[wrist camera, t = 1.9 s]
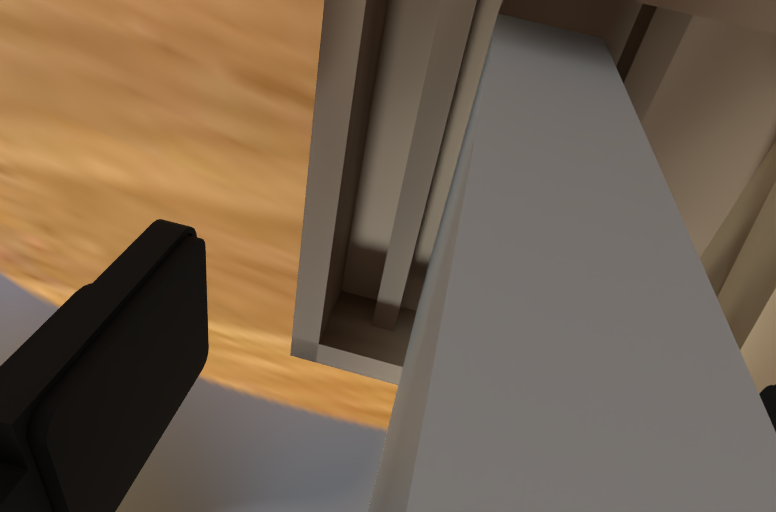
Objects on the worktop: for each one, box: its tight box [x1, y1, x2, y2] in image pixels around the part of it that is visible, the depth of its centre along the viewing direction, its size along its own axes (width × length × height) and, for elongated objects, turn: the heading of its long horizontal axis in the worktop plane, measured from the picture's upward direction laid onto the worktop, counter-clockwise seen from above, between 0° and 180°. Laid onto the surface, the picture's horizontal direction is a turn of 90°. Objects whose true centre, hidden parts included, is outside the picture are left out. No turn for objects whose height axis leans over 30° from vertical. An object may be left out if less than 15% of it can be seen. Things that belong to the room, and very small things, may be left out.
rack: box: [290, 0, 776, 385], centre depth 14 cm, size 15×12×4 cm
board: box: [368, 14, 776, 512], centre depth 10 cm, size 2×8×12 cm, turn 169°
